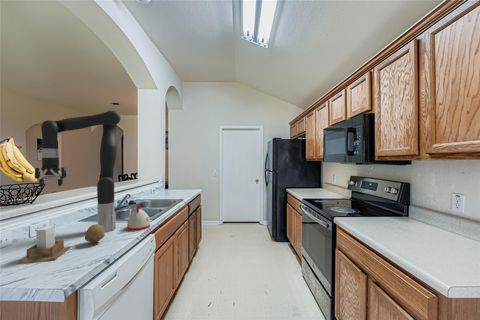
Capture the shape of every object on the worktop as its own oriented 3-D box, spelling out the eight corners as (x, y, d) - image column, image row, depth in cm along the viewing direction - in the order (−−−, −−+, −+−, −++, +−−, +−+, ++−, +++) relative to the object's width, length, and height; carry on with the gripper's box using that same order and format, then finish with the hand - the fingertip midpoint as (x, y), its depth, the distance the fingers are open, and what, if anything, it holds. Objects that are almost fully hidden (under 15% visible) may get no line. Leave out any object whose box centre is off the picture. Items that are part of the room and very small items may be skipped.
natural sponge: (109, 241, 128) (109, 223, 128) (94, 247, 120) (93, 227, 120) (97, 239, 132) (97, 221, 131) (82, 244, 123) (81, 225, 123)
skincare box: (46, 250, 113) (45, 226, 113) (55, 250, 114) (55, 225, 113) (36, 255, 107) (35, 230, 107) (46, 255, 108) (45, 229, 107)
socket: (70, 248, 119) (70, 238, 119) (55, 260, 105) (54, 249, 105) (38, 250, 116) (38, 240, 116) (18, 263, 102) (18, 252, 102)
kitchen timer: (124, 231, 145) (124, 207, 144) (129, 225, 158) (129, 203, 158) (148, 229, 148) (148, 206, 147) (151, 223, 161) (151, 202, 161)
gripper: (68, 156, 135) (68, 184, 135) (39, 156, 132) (40, 185, 132) (61, 157, 128) (62, 186, 128) (31, 157, 125) (31, 187, 125)
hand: (51, 186), depth 130 cm, fingers open, 8 cm apart
